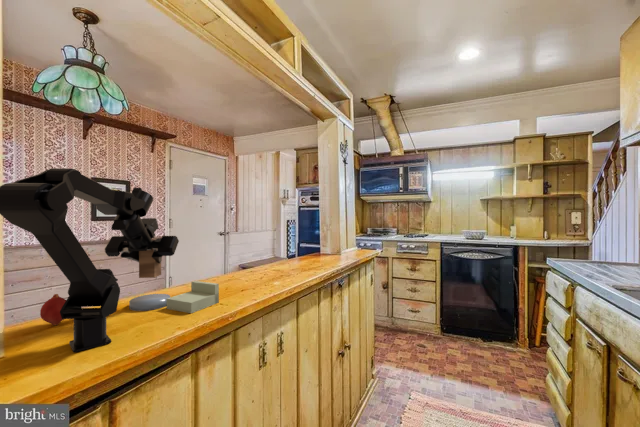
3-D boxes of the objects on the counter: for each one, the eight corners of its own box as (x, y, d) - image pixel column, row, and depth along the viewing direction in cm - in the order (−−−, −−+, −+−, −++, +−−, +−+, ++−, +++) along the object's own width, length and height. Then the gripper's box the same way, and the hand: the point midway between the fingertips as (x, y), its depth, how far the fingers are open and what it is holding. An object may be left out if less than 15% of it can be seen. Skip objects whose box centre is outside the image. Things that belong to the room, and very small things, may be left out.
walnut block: (154, 277, 90) (154, 248, 90) (139, 277, 90) (139, 248, 90) (161, 274, 95) (161, 246, 95) (146, 274, 94) (146, 246, 94)
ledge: (191, 313, 85) (191, 292, 85) (166, 308, 89) (166, 288, 89) (218, 302, 95) (218, 283, 95) (195, 298, 99) (195, 280, 99)
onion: (35, 326, 75) (35, 295, 75) (64, 319, 80) (63, 289, 80) (46, 331, 72) (46, 298, 72) (74, 323, 77) (74, 292, 77)
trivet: (175, 304, 92) (175, 298, 92) (135, 313, 84) (135, 306, 84) (162, 297, 100) (162, 291, 100) (124, 305, 92) (124, 298, 92)
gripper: (176, 209, 89) (189, 242, 100) (110, 209, 87) (131, 242, 98) (164, 237, 81) (180, 270, 92) (92, 237, 80) (117, 271, 91)
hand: (152, 262), depth 93 cm, fingers closed on walnut block, 4 cm apart
